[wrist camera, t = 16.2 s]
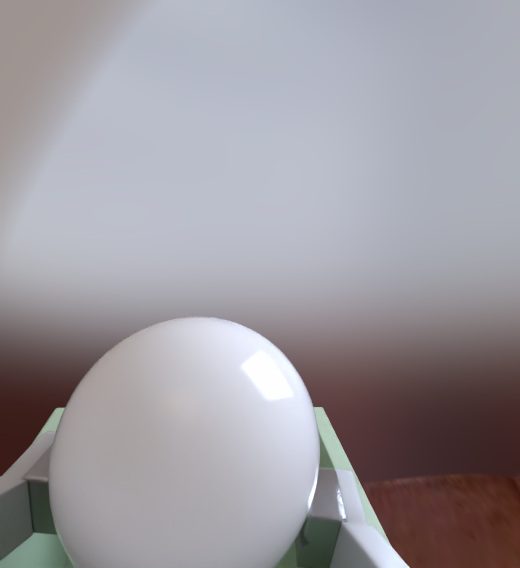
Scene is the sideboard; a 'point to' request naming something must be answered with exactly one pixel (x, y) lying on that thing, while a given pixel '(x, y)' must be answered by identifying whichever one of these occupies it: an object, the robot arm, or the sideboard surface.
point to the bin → (55, 564)
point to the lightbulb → (185, 452)
